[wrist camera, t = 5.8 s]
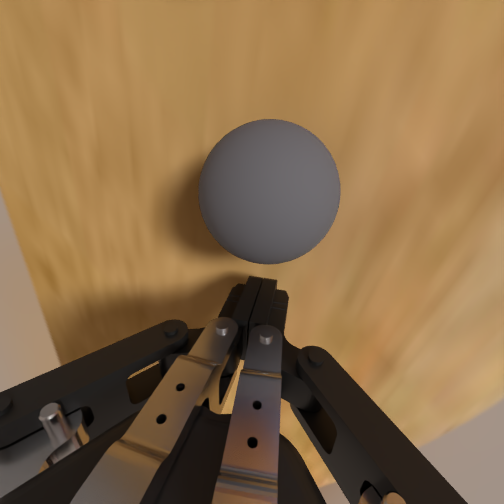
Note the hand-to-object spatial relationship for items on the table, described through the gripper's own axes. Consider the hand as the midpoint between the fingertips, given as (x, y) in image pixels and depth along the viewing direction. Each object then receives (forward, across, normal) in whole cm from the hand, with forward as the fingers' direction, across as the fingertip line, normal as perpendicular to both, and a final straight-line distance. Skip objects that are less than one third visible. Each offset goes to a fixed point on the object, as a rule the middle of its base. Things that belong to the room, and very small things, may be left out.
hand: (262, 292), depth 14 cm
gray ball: (-1, 0, -6) cm, 6 cm away
